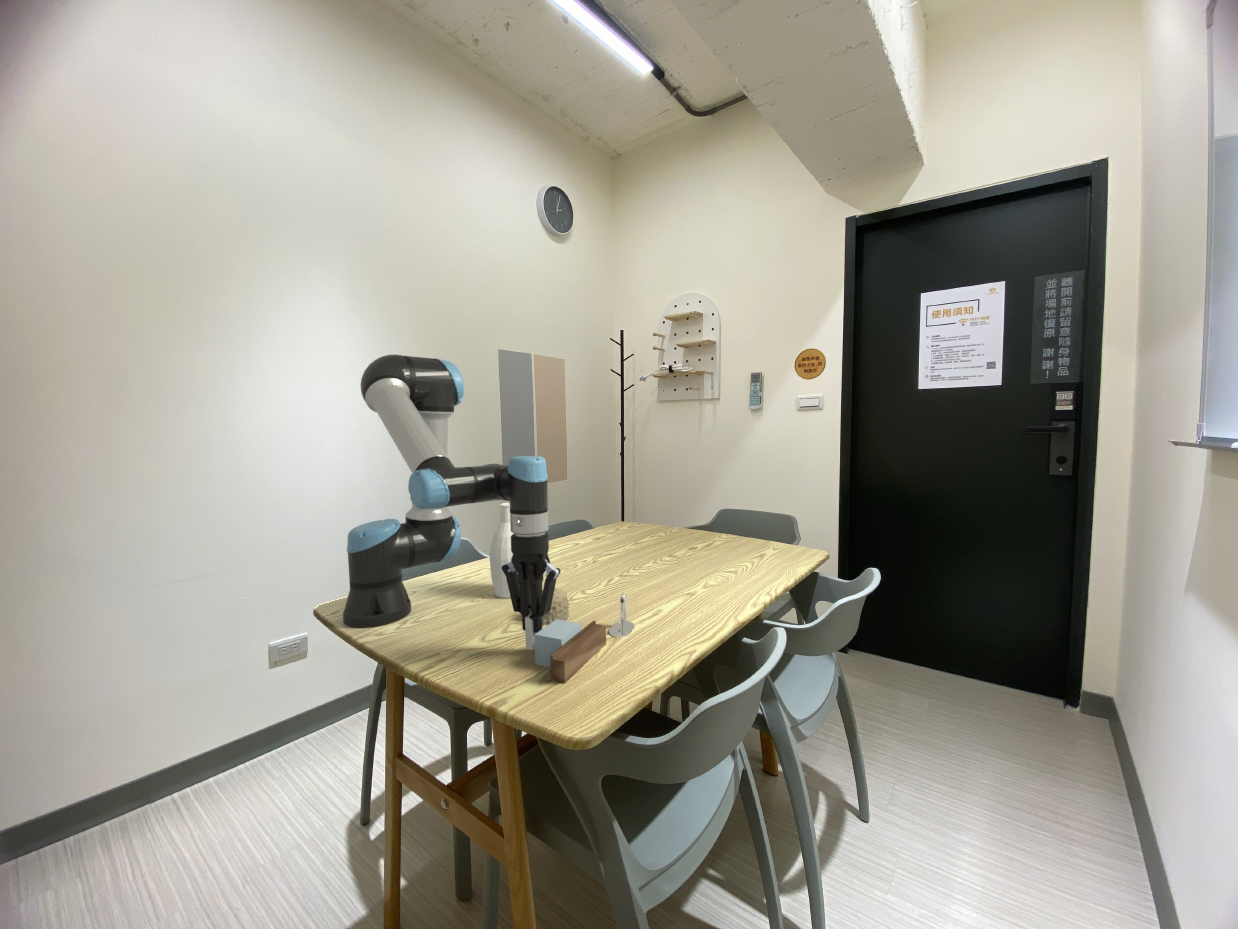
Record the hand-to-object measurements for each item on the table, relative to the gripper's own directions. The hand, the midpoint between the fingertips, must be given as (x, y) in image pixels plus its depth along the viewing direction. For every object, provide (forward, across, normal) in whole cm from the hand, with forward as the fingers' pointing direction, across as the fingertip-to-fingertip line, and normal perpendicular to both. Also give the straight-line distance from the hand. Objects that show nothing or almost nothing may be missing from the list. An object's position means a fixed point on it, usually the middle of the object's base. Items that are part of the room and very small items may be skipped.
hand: (532, 646), depth 96 cm
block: (+1, +6, 0) cm, 7 cm away
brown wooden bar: (+1, +11, 0) cm, 11 cm away
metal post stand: (+1, +12, +17) cm, 21 cm away
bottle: (+2, -26, +28) cm, 39 cm away
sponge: (+2, -6, +17) cm, 18 cm away
